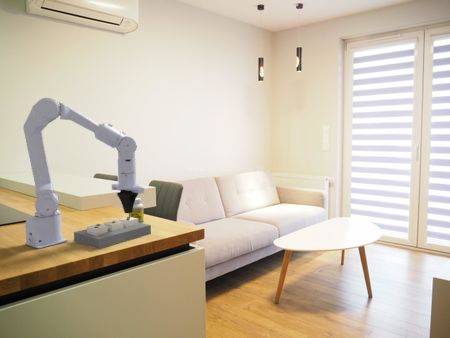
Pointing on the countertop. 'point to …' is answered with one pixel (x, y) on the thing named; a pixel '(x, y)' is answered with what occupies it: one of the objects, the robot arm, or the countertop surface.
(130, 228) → the button board
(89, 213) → the countertop surface
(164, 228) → the countertop surface
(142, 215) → the supplement bottle
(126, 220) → the tile three
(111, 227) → the tile one
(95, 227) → the tile two
